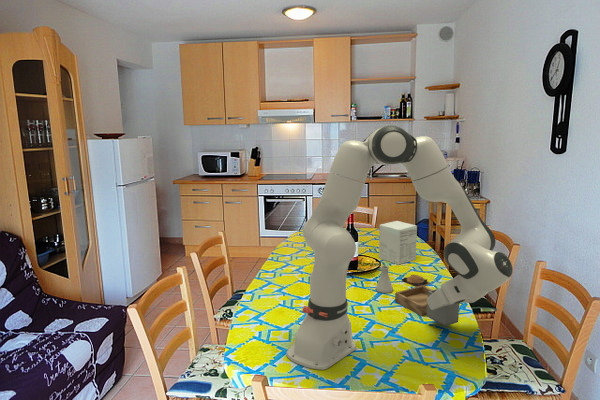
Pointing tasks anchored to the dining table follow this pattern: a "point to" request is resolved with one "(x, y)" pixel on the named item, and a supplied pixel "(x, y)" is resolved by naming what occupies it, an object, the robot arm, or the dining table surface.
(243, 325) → the dining table surface
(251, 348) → the dining table surface
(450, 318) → the small crate
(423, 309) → the tray
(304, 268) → the dining table surface
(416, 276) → the bread roll
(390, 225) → the supplement box
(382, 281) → the flask
